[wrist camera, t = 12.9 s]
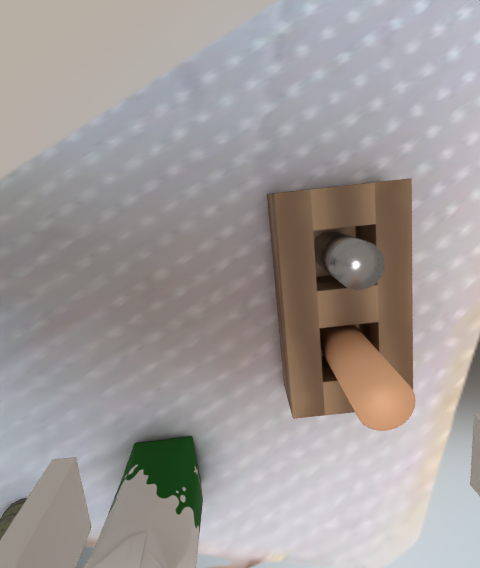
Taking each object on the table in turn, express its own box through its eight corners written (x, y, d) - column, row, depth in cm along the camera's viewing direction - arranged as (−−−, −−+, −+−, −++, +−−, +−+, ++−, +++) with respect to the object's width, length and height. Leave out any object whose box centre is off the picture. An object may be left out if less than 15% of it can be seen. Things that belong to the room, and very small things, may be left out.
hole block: (284, 385, 45) (293, 418, 38) (267, 194, 40) (273, 193, 33) (385, 374, 45) (413, 406, 38) (381, 181, 40) (411, 178, 33)
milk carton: (125, 437, 46) (46, 612, 27) (199, 428, 46) (174, 597, 27) (139, 498, 48) (74, 703, 29) (210, 489, 48) (194, 689, 29)
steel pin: (312, 270, 41) (336, 292, 31) (309, 232, 40) (333, 244, 30) (349, 265, 41) (385, 287, 31) (347, 228, 40) (384, 238, 30)
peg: (315, 351, 43) (356, 433, 29) (312, 315, 42) (354, 380, 27) (354, 347, 43) (415, 427, 28) (352, 310, 42) (415, 373, 27)
